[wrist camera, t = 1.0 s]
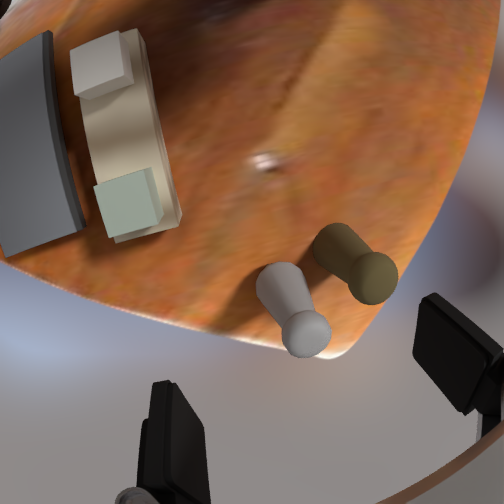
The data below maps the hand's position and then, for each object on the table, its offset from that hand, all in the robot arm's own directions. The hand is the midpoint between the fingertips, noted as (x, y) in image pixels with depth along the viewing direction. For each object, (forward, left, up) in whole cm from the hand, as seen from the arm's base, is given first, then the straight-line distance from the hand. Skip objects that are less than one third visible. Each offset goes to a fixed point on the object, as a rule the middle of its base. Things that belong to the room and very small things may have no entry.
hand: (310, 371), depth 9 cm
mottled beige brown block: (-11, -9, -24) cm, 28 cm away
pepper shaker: (+7, +11, -24) cm, 27 cm away
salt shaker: (+9, +3, -24) cm, 26 cm away
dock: (-15, -23, -24) cm, 36 cm away
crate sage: (-5, -9, -19) cm, 22 cm away
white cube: (-18, -9, -19) cm, 27 cm away
